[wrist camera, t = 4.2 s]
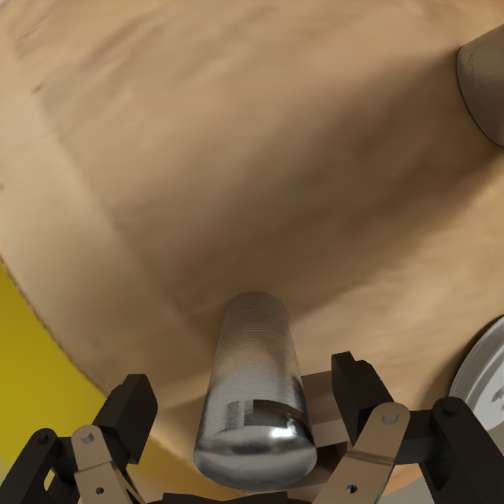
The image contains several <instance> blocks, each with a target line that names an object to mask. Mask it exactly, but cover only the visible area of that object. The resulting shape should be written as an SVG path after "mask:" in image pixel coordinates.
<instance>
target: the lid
mask: <svg viewBox="0 0 504 504" xmlns="http://www.w3.org/2000/svg"><path fill="white" fill-rule="evenodd" d="M449 396H453V397H458V398H460V399H462V400H463V401H465V403H466V404H467V405H468V406H469V408H470V409H471V411H472V412H473V413H474V415H475V416H476V417H477V419H478V420H479V421H480V423H481V424H482V426H483V427H484V429H485V430H486V431H487V430H489V429H491V428H493V427H495V426H497V425H498V424H500V423H501V422H502V421H504V316H503V317H502V318H501V319H499V320H498V321H497V322H496V323H495V324H493V325H492V326H491V327H490V328H489V329H488V330H487V331H486V332H485V334H484V335H483V336H482V337H481V338H480V339H479V341H478V342H477V343H476V344H475V346H474V347H473V348H472V350H471V351H470V353H469V354H468V355H467V357H466V359H465V360H464V362H463V363H462V365H461V367H460V369H459V371H458V372H457V374H456V377H455V379H454V381H453V383H452V386H451V389H450V392H449Z"/></svg>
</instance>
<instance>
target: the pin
mask: <svg viewBox="0 0 504 504" xmlns="http://www.w3.org/2000/svg"><path fill="white" fill-rule="evenodd" d="M193 459H194V462H195V465H196V466H197V468H198V469H199V470H200V472H201V473H202V474H204V475H205V476H206V477H208V478H209V479H211V480H213V481H215V482H217V483H219V484H222V485H224V486H228V487H231V488H236V489H242V490H268V489H274V488H279V487H283V486H286V485H289V484H292V483H294V482H296V481H298V480H300V479H301V478H303V477H304V476H306V475H307V474H308V473H309V472H310V471H311V470H312V469H313V467H314V466H315V464H316V461H317V450H316V445H315V440H314V436H313V431H312V426H311V421H310V417H309V412H308V407H307V403H306V398H305V393H304V389H303V384H302V380H301V375H300V371H299V366H298V362H297V357H296V353H295V348H294V344H293V340H292V335H291V331H290V326H289V322H288V318H287V314H286V310H285V308H284V306H283V305H282V304H281V302H280V301H279V300H278V299H276V298H275V297H273V296H272V295H269V294H267V293H263V292H248V293H245V294H242V295H240V296H238V297H237V298H235V299H234V300H233V301H232V302H231V303H230V304H229V306H228V307H227V309H226V312H225V315H224V320H223V324H222V328H221V332H220V337H219V341H218V345H217V350H216V354H215V358H214V363H213V367H212V372H211V376H210V380H209V385H208V389H207V394H206V398H205V403H204V407H203V412H202V416H201V421H200V425H199V430H198V434H197V439H196V443H195V448H194V453H193Z"/></svg>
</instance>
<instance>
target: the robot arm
mask: <svg viewBox="0 0 504 504" xmlns="http://www.w3.org/2000/svg"><path fill="white" fill-rule="evenodd" d="M456 66H457V76H458V81H459V85H460V89H461V91H462V94H463V97H464V100H465V102H466V104H467V106H468V109H469V111H470V113H471V114H472V116H473V118H474V119H475V121H476V123H477V124H478V125H479V127H480V128H481V130H482V131H483V132H484V133H485V134H486V135H487V136H488V137H489V138H490V139H491V140H492V141H493V142H495V143H496V144H497V145H499V146H502V147H504V24H503V25H501V26H499V27H497V28H495V29H493V30H491V31H489V32H487V33H485V34H483V35H481V36H480V37H478V38H476V39H474V40H472V41H471V42H469V43H467V44H465V45H464V46H463V47H462V48H461V49H460V51H459V53H458V56H457V64H456ZM331 366H332V390H333V395H334V398H335V400H336V403H337V406H338V408H339V411H340V414H341V417H342V419H343V422H344V425H345V428H346V430H347V433H348V436H349V439H350V441H351V444H352V447H353V449H352V450H351V452H349V451H348V452H346V453H345V455H344V456H343V458H342V459H341V461H340V462H339V464H338V466H337V467H336V469H335V470H334V472H333V474H332V475H331V477H330V478H329V480H328V481H327V483H326V484H325V486H324V487H323V489H322V490H321V491H320V493H319V494H318V496H317V497H316V498H315V500H314V501H313V503H312V502H309V501H305V500H301V499H294V498H288V494H287V491H282V492H273V493H262V494H253V495H250V496H246V497H241V498H237V499H233V500H228V501H216V500H212V499H208V498H203V497H199V496H195V495H187V494H174V493H164V494H163V499H162V500H159V501H154V502H150V503H147V504H378V502H379V500H380V498H381V496H382V494H383V492H384V490H385V487H386V485H387V483H388V481H389V479H390V476H391V474H392V472H393V469H394V467H395V465H402V464H413V463H418V464H419V467H420V469H421V471H422V474H423V476H424V478H425V481H426V483H427V485H428V488H429V490H430V493H431V495H432V498H433V500H434V503H435V504H504V456H503V455H502V453H501V452H500V450H499V449H498V447H497V446H496V444H495V443H494V442H493V440H492V439H491V437H490V436H489V434H488V433H487V431H486V430H485V429H484V427H483V426H482V424H481V423H480V421H479V420H478V419H477V417H476V416H475V415H474V413H473V412H472V411H471V409H470V408H469V406H468V405H467V404H466V403H465V401H463V400H462V399H460V398H458V397H453V396H448V397H443V398H441V399H439V400H437V401H436V402H435V404H434V405H433V408H432V409H430V410H421V411H409V410H408V408H407V407H406V406H404V405H403V404H400V403H396V402H394V400H393V398H392V397H391V395H390V394H389V392H388V390H387V389H386V387H385V385H384V384H383V382H382V381H381V380H380V377H379V376H378V374H377V373H376V371H375V369H374V368H373V366H372V365H371V364H369V363H367V362H366V361H364V360H360V361H355V360H354V358H353V356H352V354H351V353H350V351H347V352H343V353H338V354H333V355H332V357H331ZM157 411H158V404H157V400H156V398H155V395H154V393H153V390H152V388H151V385H150V383H149V380H148V378H147V376H146V375H145V374H129V375H127V377H126V379H125V380H124V382H123V384H122V385H118V386H117V387H116V388H115V389H114V390H112V391H111V393H110V395H109V396H108V398H107V400H106V401H105V403H104V406H102V408H101V409H100V411H99V413H98V415H97V416H96V418H95V419H94V421H93V423H92V425H85V426H82V427H80V428H78V429H77V430H76V431H75V432H74V433H73V434H72V437H58V436H57V435H56V433H55V432H54V431H53V430H52V429H49V428H43V429H40V430H38V431H36V432H35V433H34V434H33V435H32V436H31V438H30V439H29V441H28V443H27V444H26V445H25V447H24V449H23V450H22V452H21V453H20V455H19V456H18V458H17V460H16V461H15V463H14V464H13V466H12V468H11V469H10V471H9V473H8V474H7V476H6V478H5V480H4V481H3V483H2V485H1V486H0V504H77V503H78V501H79V498H80V496H81V499H82V503H83V504H146V503H145V501H144V500H143V498H142V496H141V494H140V493H139V491H138V489H137V487H136V485H135V483H134V481H133V480H132V478H131V476H130V474H129V472H128V470H127V469H126V466H127V464H128V463H130V464H138V463H139V460H140V458H141V455H142V452H143V449H144V447H145V444H146V441H147V438H148V436H149V433H150V430H151V428H152V425H153V422H154V420H155V417H156V414H157ZM50 469H51V470H52V471H53V473H54V474H55V476H54V478H53V480H52V482H51V484H50V486H49V488H48V490H47V491H46V490H45V488H44V480H45V478H46V476H47V474H48V472H49V471H50Z"/></svg>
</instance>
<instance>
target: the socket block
mask: <svg viewBox="0 0 504 504" xmlns="http://www.w3.org/2000/svg"><path fill="white" fill-rule="evenodd" d="M301 380H302V384H303V389H304V393H305V398H306V403H307V407H308V412H309V417H310V421H311V426H312V431H313V436H314V440H315V445H316V450H317V461H316V464H315V466H314V467H313V469H312V470H311V471H310V472H309V473H308V474H307V475H306V476H304V477H303V478H301V479H300V480H298V481H296V482H294V483H292V484H289V485H286V486H283V487H279V488H274V489H268V490H243V492H244V494H245V497H246V496H250V495H253V494H262V493H273V492H282V491H287V494H288V498H294V499H301V500H305V501H309V502H312V503H313V501H314V500H315V498H316V497H317V496H318V494H319V493H320V491H321V490H322V489H323V487H324V486H325V484H326V483H327V481H328V480H329V478H330V477H331V475H332V474H333V472H334V470H335V469H336V467H337V466H338V464H339V462H340V461H341V459H342V458H343V456H344V455H345V453H346V452H348V451H349V452H351V450H352V449H353V447H352V444H351V441H350V439H349V436H348V433H347V430H346V428H345V425H344V422H343V419H342V417H341V414H340V411H339V408H338V406H337V403H336V400H335V398H334V395H333V390H332V371H327V372H322V373H317V374H312V375H307V376H301Z"/></svg>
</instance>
